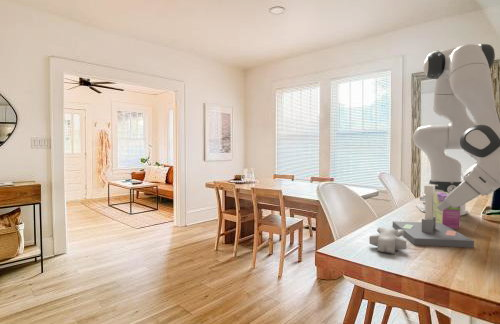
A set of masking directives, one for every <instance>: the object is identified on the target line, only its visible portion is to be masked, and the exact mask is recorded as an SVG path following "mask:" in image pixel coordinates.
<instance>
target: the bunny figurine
mask: <svg viewBox="0 0 500 324" xmlns="http://www.w3.org/2000/svg"><path fill="white" fill-rule="evenodd" d="M376 231H377V234H373V235H369V244H370V245H372V246H376V247H377V251H378V252H381V253H387V254H388V253H389V254H391V255H393V254H396V251H398V250H399V251H402V250H407V240H405V239H403V238H401V237H404V236H403V235H405V232H404V230H401V229H399V230H396V229H394V228H393V229H392V228H386V227H383V226H378V228H377V230H376Z"/></svg>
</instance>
